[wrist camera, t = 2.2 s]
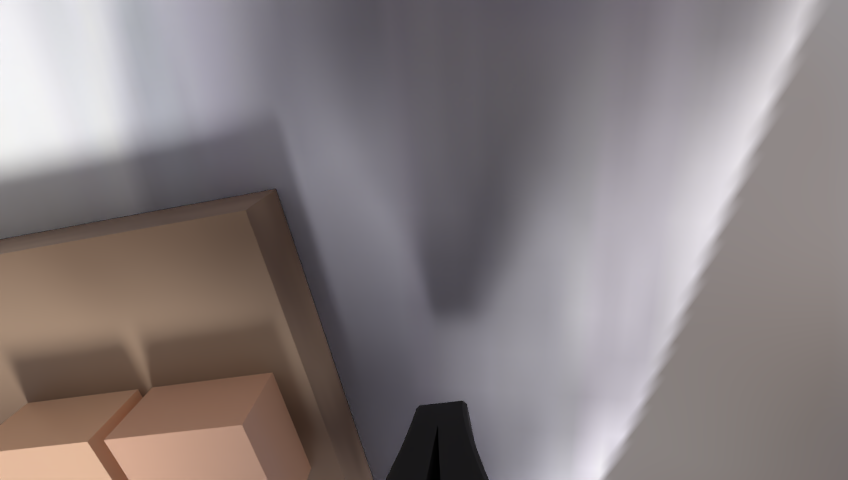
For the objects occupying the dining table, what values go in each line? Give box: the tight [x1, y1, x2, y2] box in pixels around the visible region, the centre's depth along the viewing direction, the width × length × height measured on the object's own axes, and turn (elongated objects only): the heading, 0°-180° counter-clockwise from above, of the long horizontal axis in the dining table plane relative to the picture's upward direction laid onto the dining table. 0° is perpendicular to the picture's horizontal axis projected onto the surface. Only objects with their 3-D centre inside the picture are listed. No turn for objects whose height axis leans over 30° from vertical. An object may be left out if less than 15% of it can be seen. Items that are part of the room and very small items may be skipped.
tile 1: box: [104, 372, 311, 480], centre depth 13 cm, size 4×4×2 cm
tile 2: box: [0, 389, 143, 480], centre depth 13 cm, size 4×4×2 cm
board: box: [0, 189, 373, 480], centre depth 15 cm, size 14×12×2 cm
